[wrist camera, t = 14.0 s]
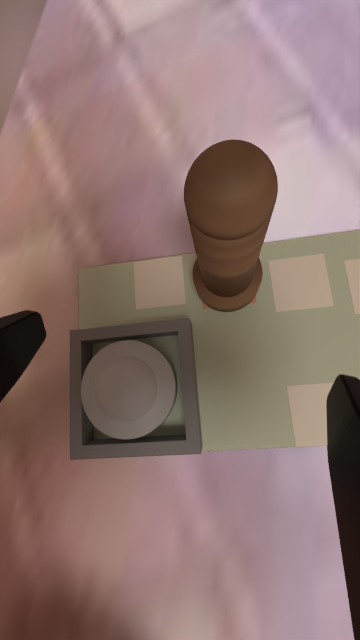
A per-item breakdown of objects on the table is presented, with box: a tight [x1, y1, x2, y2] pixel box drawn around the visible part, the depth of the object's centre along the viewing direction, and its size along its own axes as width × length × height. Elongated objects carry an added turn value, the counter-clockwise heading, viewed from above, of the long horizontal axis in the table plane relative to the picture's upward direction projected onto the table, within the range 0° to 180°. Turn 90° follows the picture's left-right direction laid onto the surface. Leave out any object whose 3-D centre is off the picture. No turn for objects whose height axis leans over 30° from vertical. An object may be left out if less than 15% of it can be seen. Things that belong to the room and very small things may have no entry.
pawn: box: [184, 140, 278, 312], centre depth 15 cm, size 5×5×12 cm
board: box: [70, 230, 360, 460], centre depth 19 cm, size 14×24×3 cm, turn 95°
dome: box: [81, 340, 178, 439], centre depth 18 cm, size 6×6×4 cm
